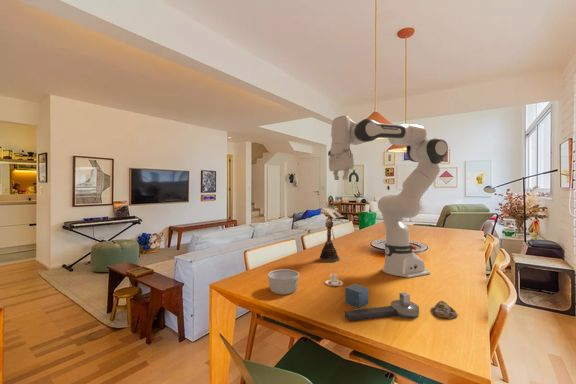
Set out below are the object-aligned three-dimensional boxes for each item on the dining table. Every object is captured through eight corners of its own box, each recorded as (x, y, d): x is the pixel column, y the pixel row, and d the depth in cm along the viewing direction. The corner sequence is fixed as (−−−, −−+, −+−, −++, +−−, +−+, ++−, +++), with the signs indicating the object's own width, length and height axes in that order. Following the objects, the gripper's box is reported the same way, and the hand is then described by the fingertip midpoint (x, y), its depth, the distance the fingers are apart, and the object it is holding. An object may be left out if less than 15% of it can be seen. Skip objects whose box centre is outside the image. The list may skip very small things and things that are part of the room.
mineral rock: (460, 315, 88) (433, 304, 91) (455, 328, 88) (429, 315, 92) (458, 304, 97) (433, 294, 101) (454, 315, 98) (430, 304, 101)
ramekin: (275, 298, 108) (275, 281, 107) (263, 287, 119) (263, 271, 119) (304, 292, 114) (304, 275, 114) (290, 282, 125) (289, 267, 125)
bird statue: (351, 260, 162) (351, 201, 161) (340, 264, 152) (340, 202, 151) (327, 255, 173) (327, 200, 172) (315, 259, 163) (315, 201, 162)
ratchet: (352, 326, 86) (352, 305, 86) (341, 313, 95) (341, 294, 95) (425, 317, 91) (425, 297, 91) (407, 305, 100) (407, 288, 100)
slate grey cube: (354, 299, 106) (354, 283, 106) (368, 303, 102) (368, 287, 102) (345, 303, 102) (345, 287, 102) (359, 308, 98) (359, 292, 98)
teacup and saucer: (338, 288, 118) (338, 279, 118) (321, 285, 122) (321, 276, 122) (345, 282, 125) (345, 273, 125) (329, 279, 130) (329, 271, 130)
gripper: (357, 148, 121) (357, 179, 121) (338, 153, 141) (338, 180, 141) (344, 147, 119) (344, 179, 120) (326, 153, 139) (326, 180, 140)
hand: (340, 179), depth 131 cm, fingers open, 8 cm apart
